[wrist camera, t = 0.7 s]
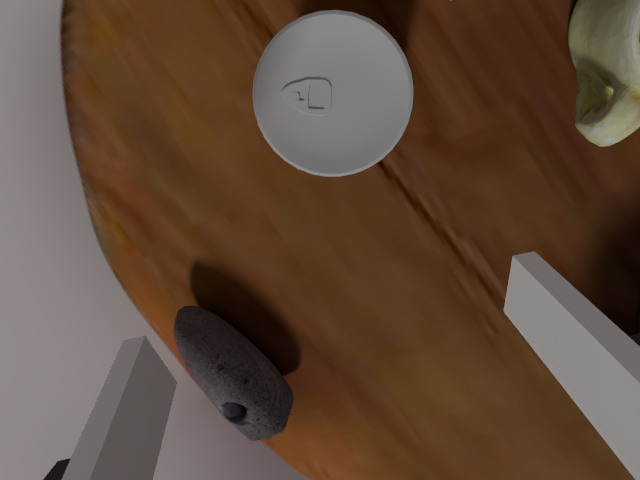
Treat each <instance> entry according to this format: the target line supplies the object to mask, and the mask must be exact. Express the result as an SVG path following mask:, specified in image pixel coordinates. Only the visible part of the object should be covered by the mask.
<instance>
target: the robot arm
mask: <svg viewBox="0 0 640 480" xmlns="http://www.w3.org/2000/svg"><path fill="white" fill-rule="evenodd" d="M504 312H505V314H506V315H507V316H508V318H509V319H510V320H511V321H512V323H513V324H514V325H515V327H516V328H517V329H518V330H519V332H520V333H521V334H522V335H523V337H524V338H525V339H526V341H527V342H528V343H529V344H530V346H531V347H532V348H533V349H534V351H535V352H536V353H537V355H538V356H539V357H540V358H541V360H542V361H543V362H544V364H545V365H546V366H547V367H548V369H549V370H550V371H551V372H552V374H553V375H554V376H555V378H556V379H557V380H558V381H559V383H560V384H561V385H562V387H563V388H564V389H565V390H566V392H567V393H568V394H569V395H570V397H571V398H572V399H573V401H574V402H575V403H576V404H577V406H578V407H579V408H580V409H581V411H582V412H583V413H584V415H585V416H586V417H587V418H588V420H589V421H590V422H591V424H592V425H593V426H594V427H595V429H596V430H597V431H598V432H599V434H600V435H601V436H602V438H603V439H604V440H605V441H606V443H607V444H608V445H609V447H610V448H611V449H612V450H613V452H614V453H615V454H616V455H617V457H618V458H619V459H620V461H621V462H622V463H623V464H624V466H625V467H626V468H627V469H628V471H629V472H630V473H631V475H632V476H633V477H634V478H635V480H640V311H639V315H638V334H636V335H631V336H627V335H626V334H625V333H624V332H623V331H622V330H621V329H620V328H619V327H618V326H616V325H615V324H614V323H613V322H612V321H611V320H610V319H609V318H608V317H606V316H605V315H604V314H603V313H602V312H601V311H600V310H599V309H598V308H596V307H595V306H594V305H593V304H592V303H591V302H590V301H589V300H588V299H586V298H585V297H584V296H583V295H582V294H581V293H580V292H579V291H578V290H576V289H575V288H574V287H573V286H572V285H571V284H570V283H569V282H568V281H566V280H565V279H564V278H563V277H562V276H561V275H560V274H559V273H558V272H557V271H555V270H554V269H553V268H552V267H551V266H550V265H549V264H548V263H547V262H545V261H544V260H543V259H542V258H541V257H540V256H539V255H538V254H537V253H535V252H534V251H533V252H529V253H524V254H519V255H515V256H513V257H512V263H511V269H510V275H509V281H508V287H507V293H506V299H505V306H504ZM176 384H177V382H176V380H175V379H174V377H173V376H172V374H171V373H170V371H169V370H168V368H167V367H166V366H165V364H164V363H163V361H162V360H161V358H160V357H159V355H158V354H157V352H156V351H155V349H154V348H153V347H152V345H151V344H150V342H149V341H148V339H147V338H146V336H143V337H138V338H133V339H128V340H124V341H123V343H122V345H121V348H120V350H119V352H118V354H117V357H116V359H115V361H114V363H113V365H112V368H111V370H110V372H109V374H108V377H107V379H106V381H105V383H104V386H103V388H102V390H101V392H100V395H99V397H98V399H97V401H96V404H95V406H94V408H93V410H92V412H91V415H90V417H89V419H88V422H87V424H86V426H85V428H84V430H83V432H82V435H81V437H80V439H79V442H78V444H77V446H76V448H75V451H74V453H73V455H72V457H71V459H66V460H61V461H58V462H57V463H56V465H55V466H54V467H53V468H52V469H51V471H50V472H49V473H48V474H47V476H46V477H45V478H44V480H152V479H153V475H154V472H155V467H156V464H157V460H158V456H159V452H160V448H161V444H162V439H163V436H164V432H165V428H166V424H167V420H168V416H169V412H170V408H171V404H172V400H173V396H174V392H175V388H176Z"/></svg>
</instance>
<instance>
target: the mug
mask: <svg viewBox="0 0 640 480" xmlns="http://www.w3.org/2000/svg"><path fill="white" fill-rule="evenodd" d="M568 43H569V49H570V54H571V58H572V61H573V64H574V66H575V68H576V71H577V75H576V78H577V81H578V85H579V93H578V95H577V98H576V106H575V107H576V115H575V126H576V128H577V129H578V130H579V131H580V132H581V133H582V134H583V135H584V137H585V138H586V139H588V140H589V141H591V142H592V143H594V144H596V145H598V146H600V147H601V146H610V145H613V144H615V143H617V142H620V141H621V140H622V139H624V138H625V137H627V136H628V135H630V134H631V133H633V132H634V131H636V130H637V129H638V128H640V0H578V1H577V3H576V5H575V7H574V10H573V13H572V16H571V19H570V24H569V32H568Z"/></svg>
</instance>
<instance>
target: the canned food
mask: <svg viewBox="0 0 640 480" xmlns="http://www.w3.org/2000/svg"><path fill="white" fill-rule="evenodd" d="M252 96H253V106H254V112H255V116H256V119H257V122H258V126H259V128H260V130H261V132H262V134H263V136H264V138H265V139H266V141H267V142H268V143H269V145H270V146H271V147H272V149H273V150H274V151H275V152H276V153H277V154H278V155H279V156H280V157H281V158H283V159H284V160H285V161H286V162H288V163H289V164H291V165H293V166H294V167H296V168H298V169H300V170H303V171H305V172H308V173H310V174H315V175H320V176H345V175H350V174H355V173H357V172H360V171H362V170H365V169H367V168H369V167H371V166H372V165H374V164H375V163H377V162H379V161H380V160H382V159H383V158H384V157H385V156H386V155H387V154H388V153H389V152H390V151H391V150H392V149H393V148H394V146H395V145H396V144H397V142H398V141H399V139H400V138H401V137H402V135H403V133H404V130H405V128H406V126H407V124H408V122H409V118H410V114H411V110H412V106H413V82H412V75H411V70H410V68H409V65H408V62H407V59H406V57H405V55H404V53H403V51H402V50H401V48H400V46H399V45H398V43H397V42H396V40H395V39H394V38H393V37H392V36H391V35H390V34H389V33H388V32H387V31H386V30H385V29H384V28H383V27H381V26H380V25H378V24H377V23H375V22H374V21H372V20H371V19H369V18H367V17H364V16H362V15H359V14H356V13H354V12H348V11H341V10H327V11H318V12H315V13H311V14H308V15H305V16H302V17H300V18H299V19H297V20H295V21H293V22H291V23H289V24H288V25H287V26H286V27H284V28H283V29H282V30H281V31H280V32H279V33H277V34H276V35H275V36H274V38H273V39H272V40H271V42H270V43H269V44H268V46H267V47H266V48H265V50H264V52H263V54H262V56H261V58H260V60H259V62H258V65H257V69H256V72H255V76H254V81H253V94H252Z"/></svg>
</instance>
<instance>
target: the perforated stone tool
mask: <svg viewBox="0 0 640 480" xmlns="http://www.w3.org/2000/svg"><path fill="white" fill-rule="evenodd" d="M173 331H174V338H175V342H176V345H177V348H178V351H179V353H180V355H181V357H182V359H183V360H184V362H185V365H186V367H187V368H188V370H189V372H190V373H191V374H192V376H193V377H194V379H195V380H196V382H197V383H198V384H199V386H200V387H201V389H202V390H203V392H204V393H205V394H206V396H207V397H208V398H209V399H210V401H211V402H212V403H213V405H214V406H215V407H216V408H217V410H218V411H219V413H221V414H222V416H223V417H224V418H225V419H226V420H228V421H229V422H230V423H231V424H232V425H233V426H235V427H236V428H237V429H238V430H239V431H240V432H241V433H242V434H244V435H245V436H246V437H247V438H248V439H249V440H251V441H257V440H263V439H269V438H271V437H273V436H275V435H277V434H278V433H283V431H284V429H285V428H286V424H287V421H288V417H289V415H290V411H291V408H292V404H293V392H292V390H291V388H290V387H289V385H288V383H287V382H286V381H285V379H284V378H283V377H282V375H281V374H280V373H279V371H278V370H277V368H276V367H275V366H274V364H273V363H272V362H271V361H270V360H269V359H268V358H267V357H266V356H265V355H264V354H263V353H262V352H261V351H260V350H259V349H258V348H257V347H256V346H255V345H254V344H253V343H251V342H250V341H249V340H248V339H247V338H246V337H245V336H243V335H242V334H241V333H240V332H239V331H237V330H236V329H235V328H234V327H232V326H231V325H230V324H229V323H227V322H226V321H225V320H223V319H222V318H220V317H219V316H217V315H215V314H214V313H212V312H210V311H208V310H205V309H203V308H200V307H195V306H184V307H183V308H182V309H180V310H179V311H178V313H177V316H176V319H175V325H174V330H173Z"/></svg>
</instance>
